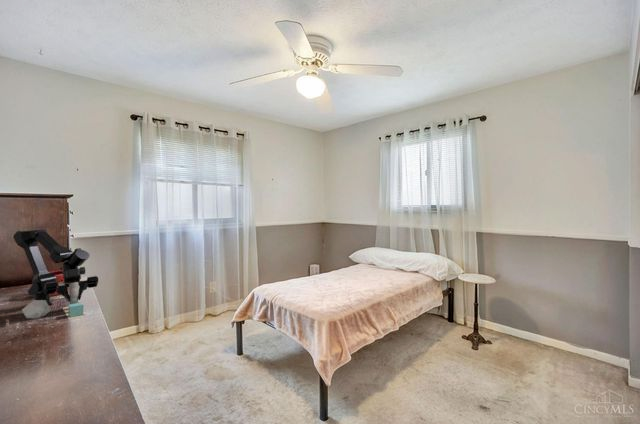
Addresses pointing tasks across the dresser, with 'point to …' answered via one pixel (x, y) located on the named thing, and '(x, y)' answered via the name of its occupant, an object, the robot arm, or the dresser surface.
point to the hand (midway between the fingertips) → (74, 300)
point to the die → (36, 309)
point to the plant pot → (58, 280)
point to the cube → (76, 309)
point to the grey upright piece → (73, 298)
